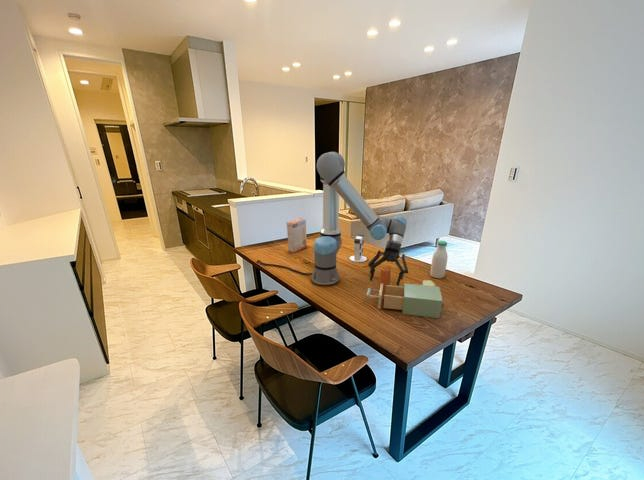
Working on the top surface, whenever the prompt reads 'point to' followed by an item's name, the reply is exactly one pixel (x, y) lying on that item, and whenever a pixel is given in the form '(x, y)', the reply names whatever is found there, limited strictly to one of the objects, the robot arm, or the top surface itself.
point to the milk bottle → (439, 261)
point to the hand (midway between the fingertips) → (384, 282)
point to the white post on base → (358, 249)
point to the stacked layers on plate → (428, 283)
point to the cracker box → (296, 235)
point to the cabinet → (422, 300)
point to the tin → (385, 277)
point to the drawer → (389, 296)
